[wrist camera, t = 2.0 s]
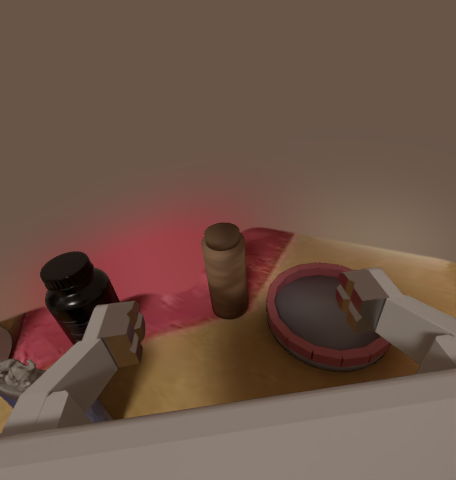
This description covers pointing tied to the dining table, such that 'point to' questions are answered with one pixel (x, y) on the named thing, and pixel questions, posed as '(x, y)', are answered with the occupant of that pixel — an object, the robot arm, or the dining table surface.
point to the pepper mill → (226, 269)
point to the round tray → (318, 320)
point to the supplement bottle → (75, 292)
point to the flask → (22, 377)
